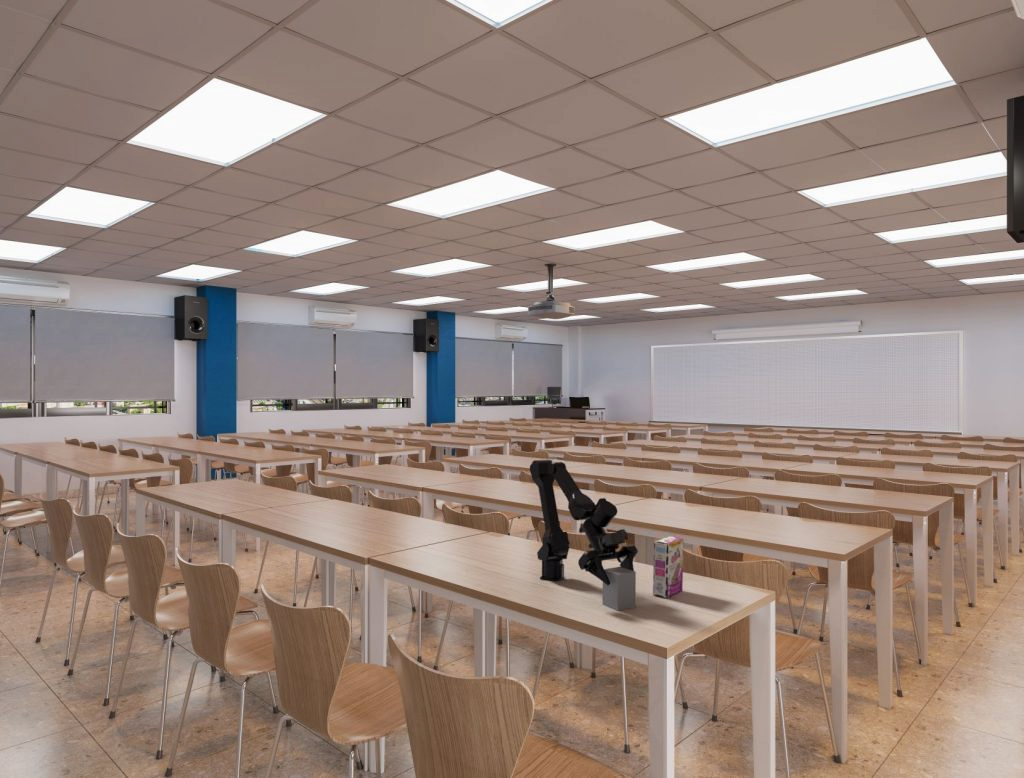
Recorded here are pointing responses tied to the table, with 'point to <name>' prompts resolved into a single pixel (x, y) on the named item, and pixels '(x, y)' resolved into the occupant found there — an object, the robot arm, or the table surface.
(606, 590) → the grey upright block
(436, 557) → the table surface
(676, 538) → the candy bar box
